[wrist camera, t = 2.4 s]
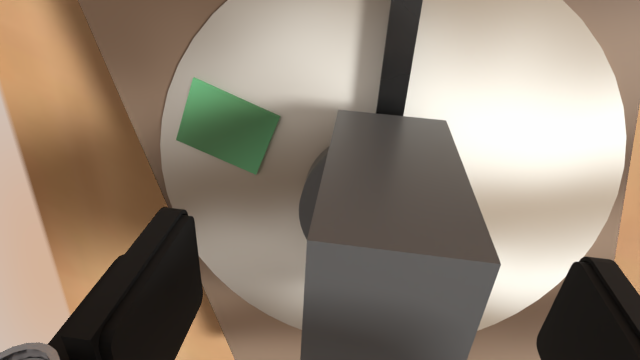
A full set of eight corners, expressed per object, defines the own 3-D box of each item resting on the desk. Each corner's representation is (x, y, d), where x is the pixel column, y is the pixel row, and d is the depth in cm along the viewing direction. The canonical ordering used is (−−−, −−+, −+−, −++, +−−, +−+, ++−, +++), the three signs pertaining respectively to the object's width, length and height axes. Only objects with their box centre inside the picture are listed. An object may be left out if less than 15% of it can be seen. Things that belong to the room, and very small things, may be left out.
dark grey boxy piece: (429, 282, 16) (462, 498, 10) (300, 266, 16) (253, 464, 10) (507, -20, 11) (682, 31, 5) (315, -35, 11) (236, -5, 5)
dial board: (568, 317, 20) (598, 376, 18) (258, 331, 24) (242, 383, 21) (624, -218, 11) (705, -270, 8) (103, -75, 14) (38, -80, 12)
